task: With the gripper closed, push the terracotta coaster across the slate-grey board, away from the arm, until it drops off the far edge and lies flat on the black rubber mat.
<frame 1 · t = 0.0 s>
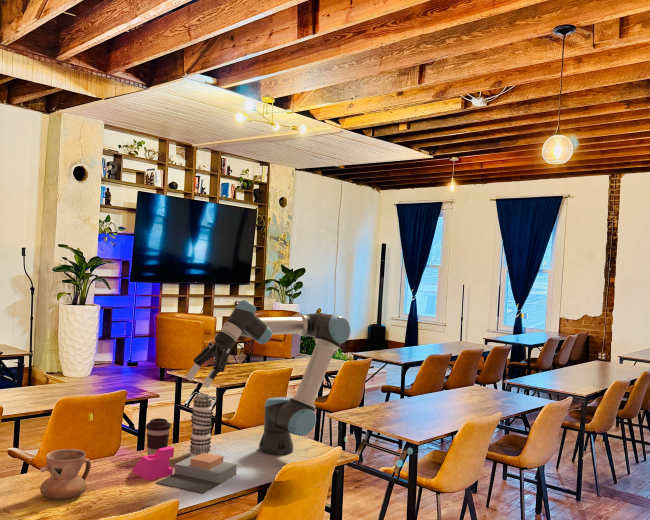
hand: (196, 382, 228), 36 cm above the table, tool tilted 35°, fingers open, 13 cm apart
bracket: (152, 474, 231), on the table
decorative candle: (199, 454, 257), on the table
mat: (191, 481, 224), on the table
coaster: (206, 463, 233), point 4 cm above the table, touching board
board: (205, 474, 232), on the table
coffee cup: (156, 457, 251), on the table
ceramic jug: (65, 496, 205), on the table
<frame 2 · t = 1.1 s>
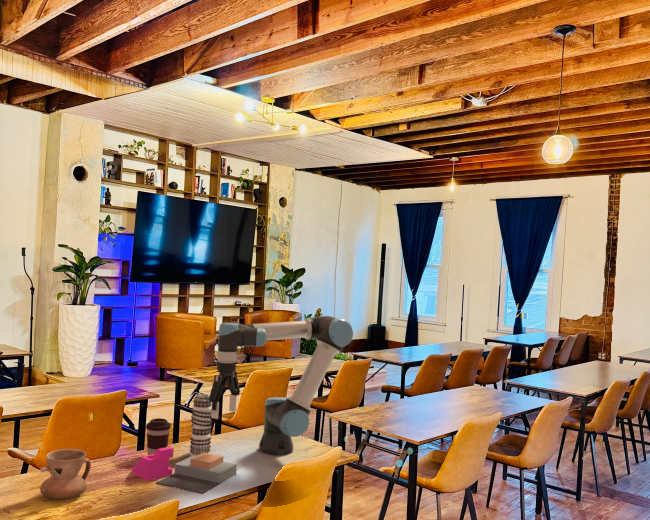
hand: (223, 414, 242), 21 cm above the table, tool pointing down, fingers open, 13 cm apart
nothing on the table moved.
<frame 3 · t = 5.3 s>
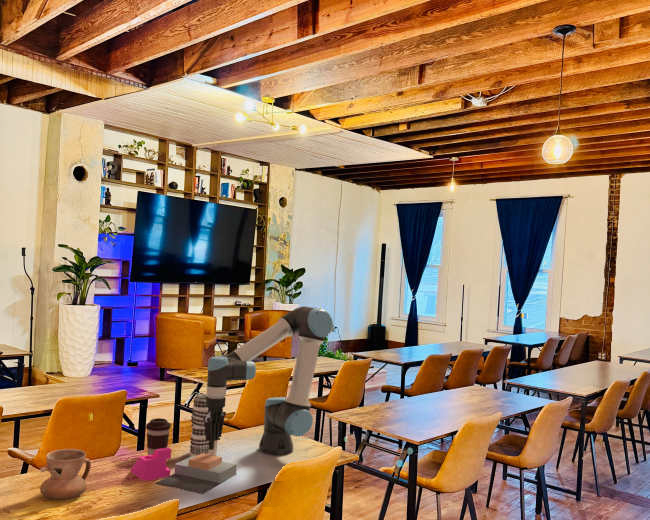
hand: (212, 457, 237), 5 cm above the table, tool pointing down, fingers closed
coaster: (205, 464, 232), point 4 cm above the table, touching board, gripper
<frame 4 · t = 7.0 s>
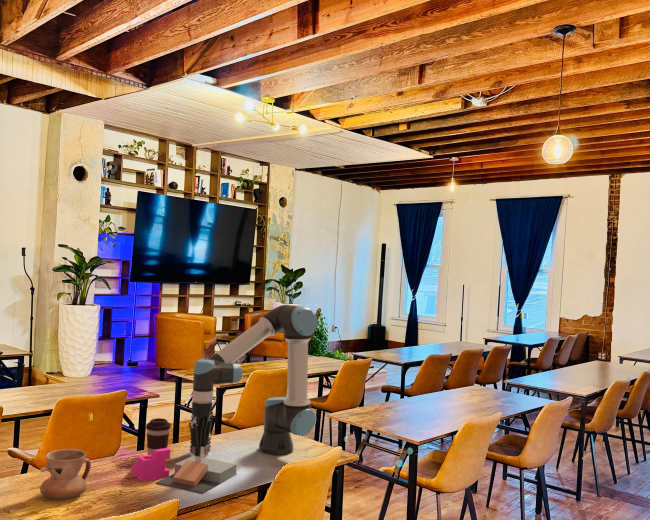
hand: (198, 464, 228), 5 cm above the table, tool pointing down, fingers closed
coaster: (191, 475, 224), point 2 cm above the table, tilted 26°, touching gripper
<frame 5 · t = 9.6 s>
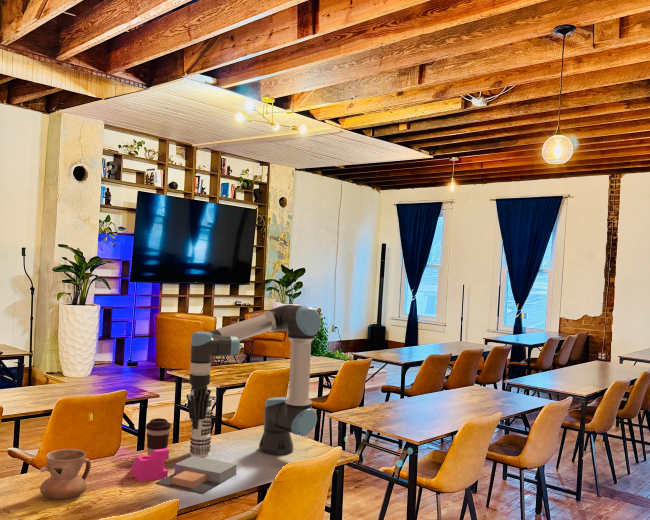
hand: (196, 436, 225), 16 cm above the table, tool pointing down, fingers closed
coaster: (189, 482, 222), resting on mat
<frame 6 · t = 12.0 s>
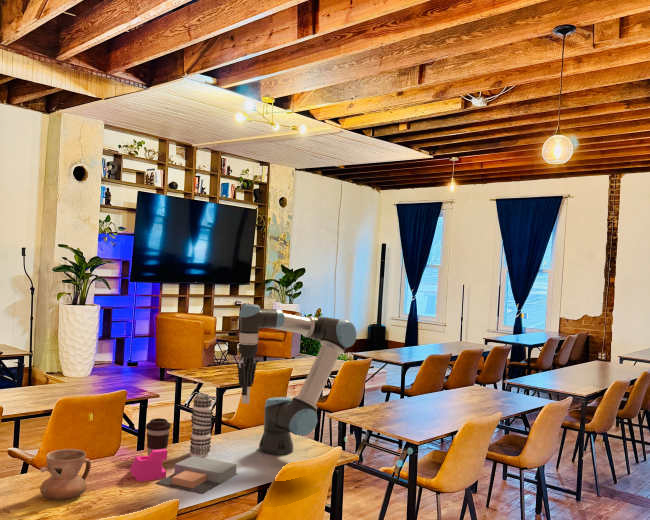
hand: (245, 402, 240), 26 cm above the table, tool pointing down, fingers closed
at the end: coaster inside the target area (0.5 cm from its centre), resting on mat; coaster tilted 0° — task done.
